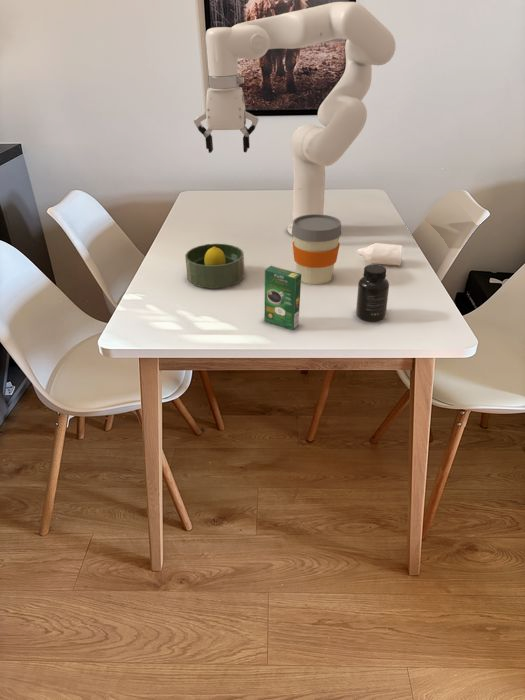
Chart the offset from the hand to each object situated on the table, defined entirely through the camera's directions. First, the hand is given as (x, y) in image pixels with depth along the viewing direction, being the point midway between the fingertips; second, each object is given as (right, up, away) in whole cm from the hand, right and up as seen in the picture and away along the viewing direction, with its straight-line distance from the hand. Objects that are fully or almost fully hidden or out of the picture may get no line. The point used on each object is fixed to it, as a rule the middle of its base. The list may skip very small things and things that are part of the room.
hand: (228, 151), depth 153 cm
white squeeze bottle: (+41, -30, +2) cm, 51 cm away
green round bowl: (-3, -35, -5) cm, 35 cm away
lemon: (-3, -35, -5) cm, 35 cm away
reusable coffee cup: (+23, -35, -5) cm, 42 cm away
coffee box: (+14, -49, -26) cm, 57 cm away
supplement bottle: (+34, -47, -23) cm, 63 cm away
